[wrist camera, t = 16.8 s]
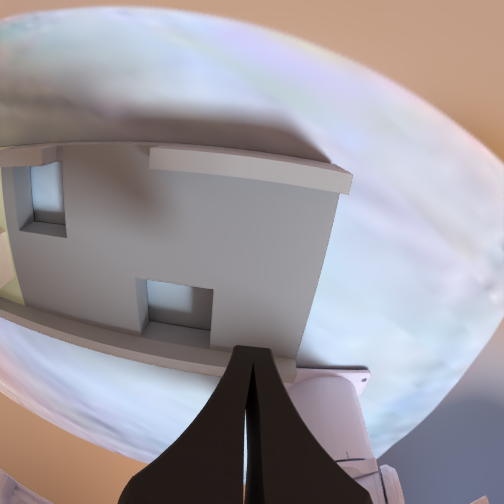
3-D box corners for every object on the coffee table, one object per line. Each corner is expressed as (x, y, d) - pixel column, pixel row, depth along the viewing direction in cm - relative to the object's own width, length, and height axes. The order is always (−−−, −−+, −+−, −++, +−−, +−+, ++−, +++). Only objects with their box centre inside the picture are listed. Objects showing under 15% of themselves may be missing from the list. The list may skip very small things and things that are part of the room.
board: (290, 349, 22) (294, 394, 18) (4, 291, 21) (-22, 315, 17) (335, 164, 16) (360, 178, 12) (-18, 150, 15) (-55, 161, 11)
